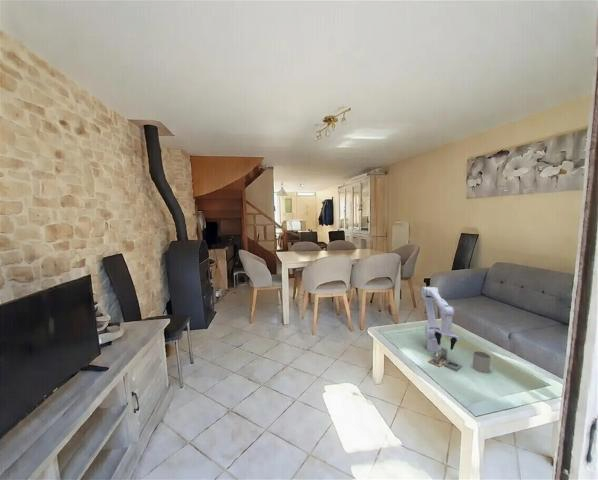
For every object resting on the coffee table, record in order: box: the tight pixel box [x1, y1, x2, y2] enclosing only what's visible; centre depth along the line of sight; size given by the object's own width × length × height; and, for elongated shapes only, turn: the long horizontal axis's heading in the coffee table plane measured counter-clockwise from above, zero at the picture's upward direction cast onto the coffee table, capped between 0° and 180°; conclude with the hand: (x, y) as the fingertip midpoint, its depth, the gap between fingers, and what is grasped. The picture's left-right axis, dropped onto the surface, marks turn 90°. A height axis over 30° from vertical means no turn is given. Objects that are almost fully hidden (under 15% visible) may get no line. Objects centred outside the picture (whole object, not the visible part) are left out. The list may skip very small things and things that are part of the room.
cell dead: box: [440, 347, 448, 361], centre depth 169 cm, size 3×3×6 cm
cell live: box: [432, 352, 441, 365], centre depth 162 cm, size 3×3×6 cm
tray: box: [427, 357, 448, 368], centre depth 163 cm, size 10×7×2 cm
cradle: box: [443, 360, 464, 372], centre depth 159 cm, size 10×7×3 cm
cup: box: [472, 350, 491, 374], centre depth 157 cm, size 8×8×10 cm
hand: (445, 346), depth 164 cm, fingers open, 7 cm apart
